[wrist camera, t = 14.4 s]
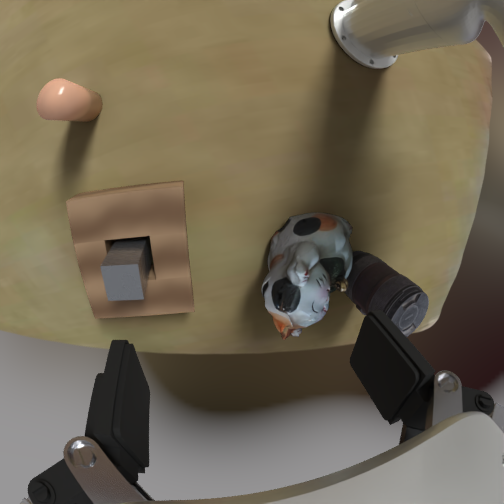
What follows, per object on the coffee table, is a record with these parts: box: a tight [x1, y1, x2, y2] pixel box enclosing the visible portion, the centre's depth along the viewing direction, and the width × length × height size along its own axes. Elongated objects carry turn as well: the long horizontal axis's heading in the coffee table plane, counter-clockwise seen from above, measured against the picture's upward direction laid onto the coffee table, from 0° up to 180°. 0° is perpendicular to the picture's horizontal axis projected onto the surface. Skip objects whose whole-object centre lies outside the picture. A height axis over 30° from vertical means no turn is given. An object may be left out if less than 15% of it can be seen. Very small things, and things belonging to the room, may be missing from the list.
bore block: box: [66, 181, 195, 319], centre depth 32 cm, size 16×14×4 cm
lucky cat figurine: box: [261, 213, 353, 340], centre depth 35 cm, size 15×12×14 cm
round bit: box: [37, 79, 102, 122], centre depth 20 cm, size 4×4×10 cm
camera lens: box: [344, 251, 429, 337], centre depth 37 cm, size 8×8×15 cm
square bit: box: [100, 236, 152, 301], centre depth 29 cm, size 4×4×10 cm
